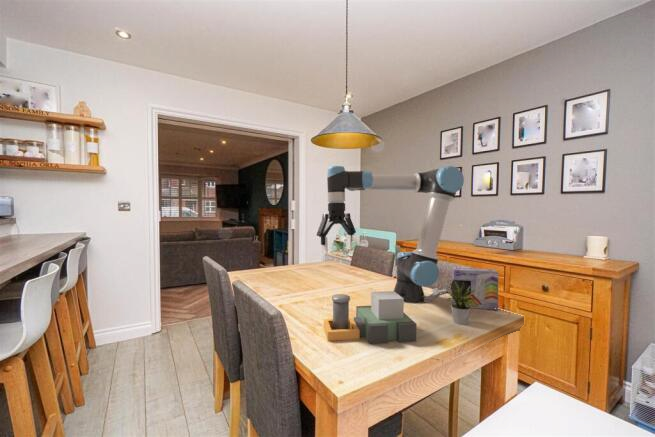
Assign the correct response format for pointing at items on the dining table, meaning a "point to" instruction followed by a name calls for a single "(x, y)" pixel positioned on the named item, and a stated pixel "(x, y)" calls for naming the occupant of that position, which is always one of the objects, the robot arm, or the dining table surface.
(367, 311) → the green corner-block plate
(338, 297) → the grey flared cylinder
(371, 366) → the dining table surface
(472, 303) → the cake pan box
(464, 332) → the dining table surface
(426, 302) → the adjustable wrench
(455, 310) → the house plant
